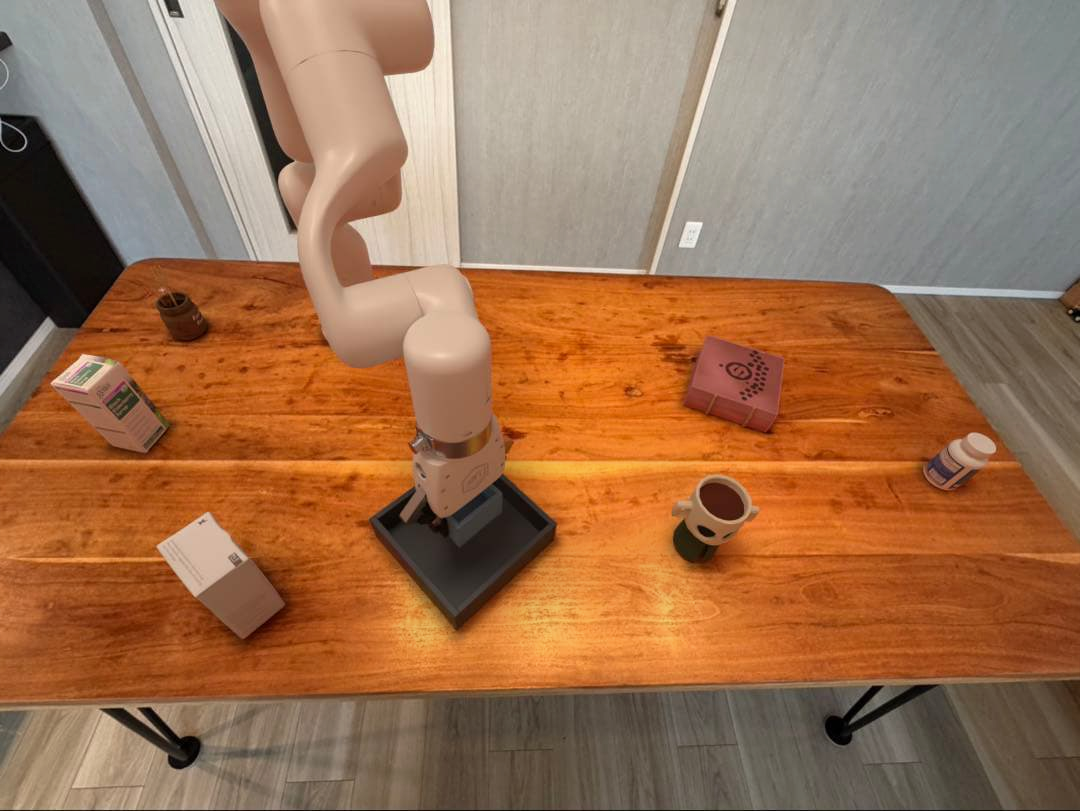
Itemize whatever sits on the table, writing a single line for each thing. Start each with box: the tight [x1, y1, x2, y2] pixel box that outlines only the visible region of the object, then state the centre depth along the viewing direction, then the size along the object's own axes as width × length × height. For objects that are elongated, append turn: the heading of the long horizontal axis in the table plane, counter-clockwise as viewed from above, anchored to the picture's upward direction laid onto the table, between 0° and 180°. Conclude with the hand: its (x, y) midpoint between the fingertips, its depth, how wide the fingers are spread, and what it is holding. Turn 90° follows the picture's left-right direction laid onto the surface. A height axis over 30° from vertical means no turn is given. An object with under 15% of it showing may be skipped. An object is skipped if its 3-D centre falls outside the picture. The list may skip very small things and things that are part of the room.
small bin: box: [445, 484, 502, 548], centre depth 64 cm, size 7×7×5 cm
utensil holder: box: [149, 264, 208, 341], centre depth 90 cm, size 6×6×12 cm
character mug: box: [671, 473, 761, 564], centre depth 69 cm, size 11×7×13 cm, turn 88°
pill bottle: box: [922, 432, 997, 492], centre depth 81 cm, size 5×5×10 cm
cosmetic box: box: [156, 511, 286, 640], centre depth 59 cm, size 8×6×15 cm
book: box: [683, 334, 786, 433], centre depth 92 cm, size 14×15×5 cm
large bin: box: [368, 472, 558, 631], centre depth 70 cm, size 18×18×5 cm
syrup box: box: [50, 353, 171, 454], centre depth 74 cm, size 6×6×14 cm
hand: (463, 509), depth 66 cm, fingers closed on small bin, 7 cm apart
